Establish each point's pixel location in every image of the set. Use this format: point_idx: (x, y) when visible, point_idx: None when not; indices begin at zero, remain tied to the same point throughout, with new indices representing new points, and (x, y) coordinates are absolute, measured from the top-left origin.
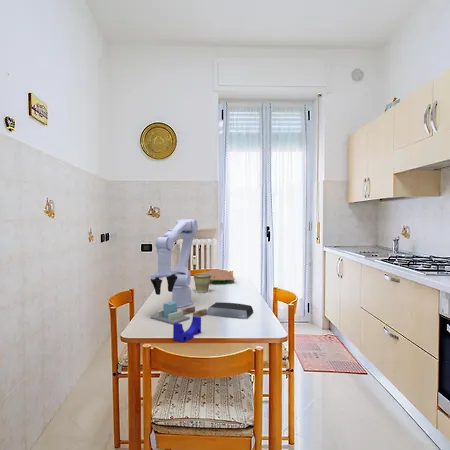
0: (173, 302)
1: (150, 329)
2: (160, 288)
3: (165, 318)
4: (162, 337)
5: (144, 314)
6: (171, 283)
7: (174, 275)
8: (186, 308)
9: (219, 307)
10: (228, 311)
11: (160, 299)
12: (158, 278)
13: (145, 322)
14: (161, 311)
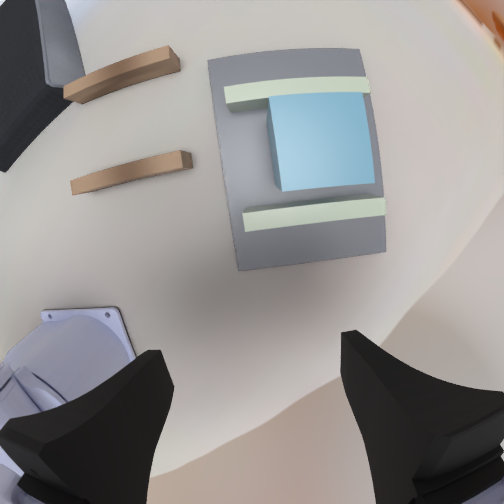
0: (281, 137)
1: (467, 96)
2: (370, 364)
3: None
4: (459, 3)
5: None
6: (121, 420)
7: (31, 484)
8: (136, 171)
9: (32, 44)
10: (47, 2)
11: None
12: (439, 497)
13: (438, 202)
14: (355, 199)
